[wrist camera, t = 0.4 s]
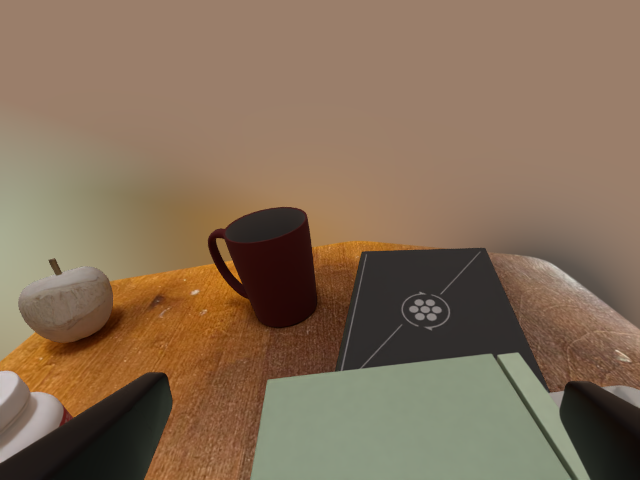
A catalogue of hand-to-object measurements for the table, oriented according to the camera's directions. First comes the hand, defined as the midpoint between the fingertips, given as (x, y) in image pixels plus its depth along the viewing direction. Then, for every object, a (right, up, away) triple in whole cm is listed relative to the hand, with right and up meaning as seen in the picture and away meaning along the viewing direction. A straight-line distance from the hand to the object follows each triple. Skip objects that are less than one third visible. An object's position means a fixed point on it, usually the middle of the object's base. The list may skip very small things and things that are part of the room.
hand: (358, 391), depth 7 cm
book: (+9, -6, +25) cm, 27 cm away
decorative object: (-30, -8, +34) cm, 46 cm away
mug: (-6, -5, +32) cm, 33 cm away
